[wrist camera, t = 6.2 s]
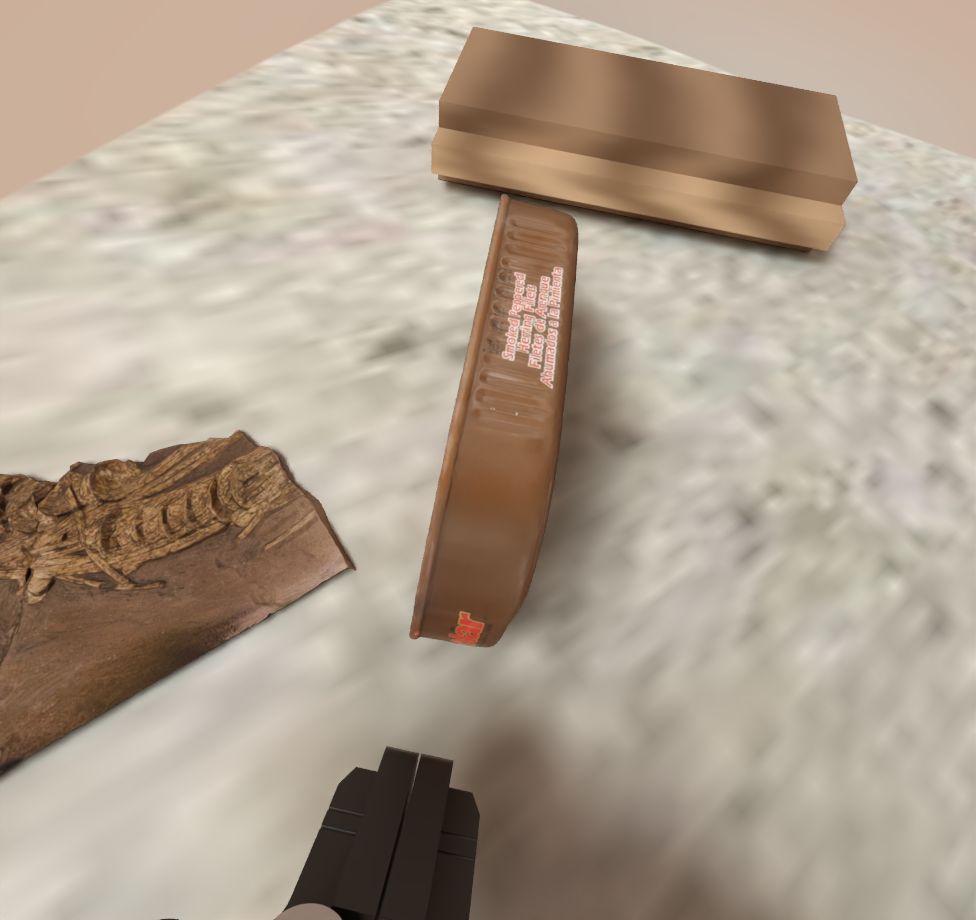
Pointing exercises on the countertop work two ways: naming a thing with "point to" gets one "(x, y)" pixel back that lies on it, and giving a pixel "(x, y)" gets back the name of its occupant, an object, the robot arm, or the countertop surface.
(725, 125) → the walnut plank
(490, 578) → the tin
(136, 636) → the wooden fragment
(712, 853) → the countertop surface
